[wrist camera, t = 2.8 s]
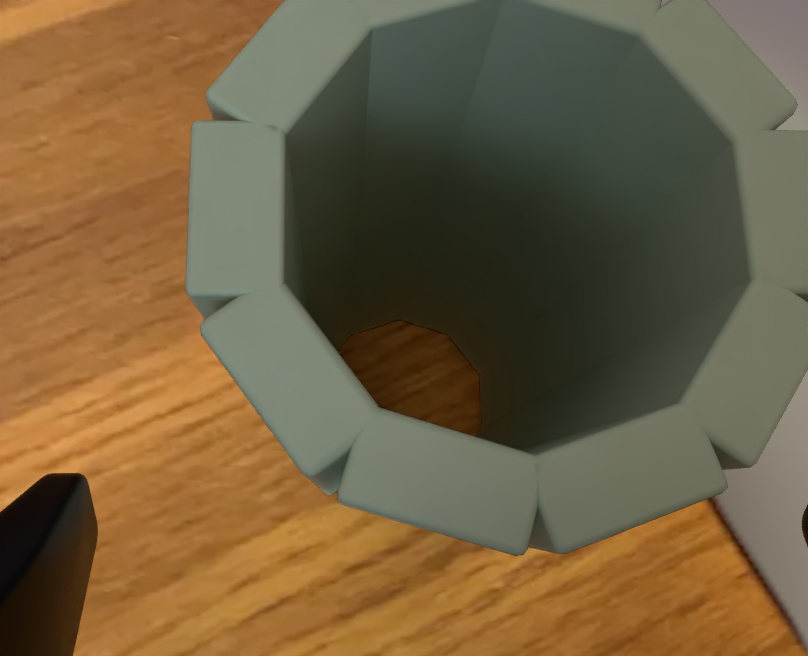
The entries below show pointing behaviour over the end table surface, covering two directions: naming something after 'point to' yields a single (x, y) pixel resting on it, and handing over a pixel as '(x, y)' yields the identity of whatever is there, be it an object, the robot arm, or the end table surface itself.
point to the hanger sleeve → (508, 252)
